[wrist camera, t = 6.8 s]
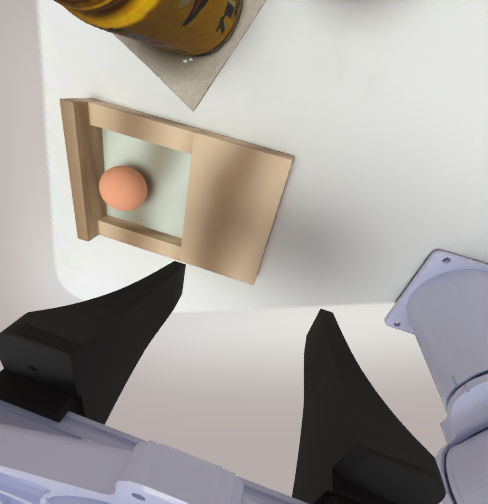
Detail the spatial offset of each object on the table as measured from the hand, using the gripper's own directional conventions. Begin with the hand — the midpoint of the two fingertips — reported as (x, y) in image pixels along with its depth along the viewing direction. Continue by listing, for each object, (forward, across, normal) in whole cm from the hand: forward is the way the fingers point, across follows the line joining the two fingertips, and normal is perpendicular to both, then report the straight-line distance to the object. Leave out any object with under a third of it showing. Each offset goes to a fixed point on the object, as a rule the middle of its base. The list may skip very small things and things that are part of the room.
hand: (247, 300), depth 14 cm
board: (+10, +8, 0) cm, 13 cm away
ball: (+8, +12, 0) cm, 14 cm away
